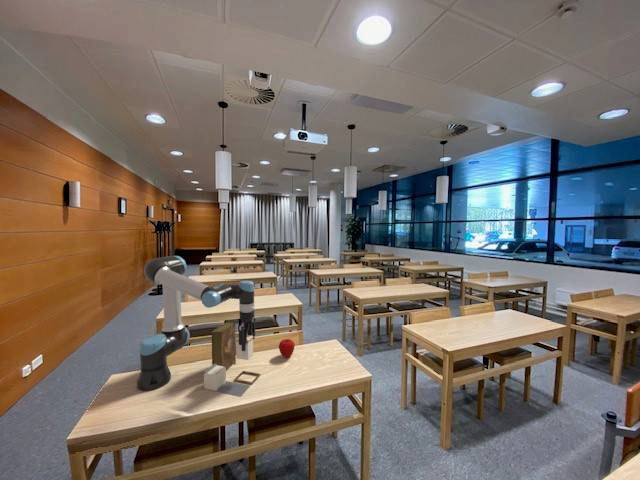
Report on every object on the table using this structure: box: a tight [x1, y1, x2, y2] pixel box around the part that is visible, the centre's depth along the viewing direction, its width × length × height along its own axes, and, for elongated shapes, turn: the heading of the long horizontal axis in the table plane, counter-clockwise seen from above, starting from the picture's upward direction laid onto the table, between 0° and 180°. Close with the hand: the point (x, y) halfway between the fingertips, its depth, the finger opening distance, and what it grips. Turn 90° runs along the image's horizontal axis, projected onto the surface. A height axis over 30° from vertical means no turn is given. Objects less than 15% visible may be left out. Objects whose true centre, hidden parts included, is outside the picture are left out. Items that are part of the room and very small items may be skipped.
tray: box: [233, 370, 261, 385], centre depth 141 cm, size 11×9×2 cm
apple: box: [278, 338, 296, 358], centre depth 167 cm, size 10×10×11 cm
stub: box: [235, 334, 254, 361], centre depth 141 cm, size 7×5×11 cm
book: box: [211, 320, 237, 372], centre depth 151 cm, size 16×6×25 cm, turn 168°
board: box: [201, 380, 251, 398], centre depth 133 cm, size 22×9×1 cm, turn 74°
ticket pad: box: [203, 364, 227, 392], centre depth 135 cm, size 7×8×9 cm
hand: (247, 353), depth 141 cm, fingers closed on stub, 5 cm apart
